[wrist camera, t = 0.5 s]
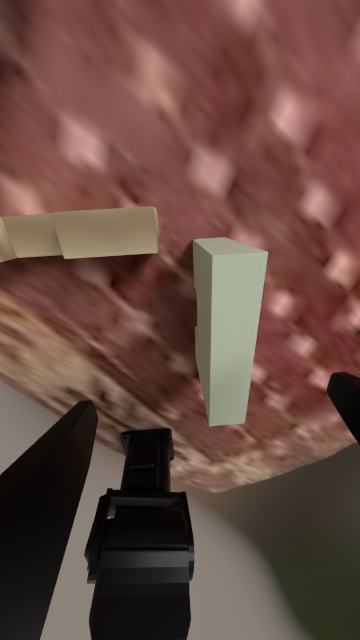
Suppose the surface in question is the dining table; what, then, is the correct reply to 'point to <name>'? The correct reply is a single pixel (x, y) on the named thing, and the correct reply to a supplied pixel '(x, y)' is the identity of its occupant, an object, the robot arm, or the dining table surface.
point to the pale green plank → (226, 323)
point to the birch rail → (80, 233)
